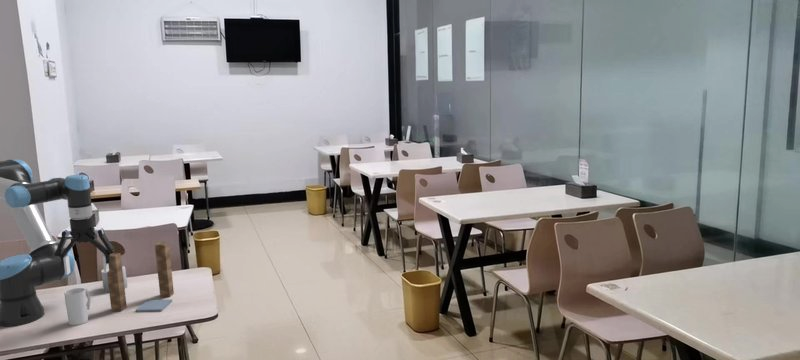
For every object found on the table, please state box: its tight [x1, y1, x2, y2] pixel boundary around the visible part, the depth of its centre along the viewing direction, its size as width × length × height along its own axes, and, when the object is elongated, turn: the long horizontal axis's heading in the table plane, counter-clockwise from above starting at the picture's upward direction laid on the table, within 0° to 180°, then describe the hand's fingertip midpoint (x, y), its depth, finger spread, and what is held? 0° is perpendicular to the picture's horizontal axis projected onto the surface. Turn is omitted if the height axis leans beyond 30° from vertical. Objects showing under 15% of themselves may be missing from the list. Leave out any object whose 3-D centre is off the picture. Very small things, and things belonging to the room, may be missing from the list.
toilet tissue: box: [100, 265, 128, 293], centre depth 251 cm, size 9×13×9 cm
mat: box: [135, 299, 173, 313], centre depth 228 cm, size 10×10×1 cm
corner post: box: [107, 252, 128, 312], centre depth 225 cm, size 4×4×22 cm
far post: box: [154, 241, 175, 298], centre depth 238 cm, size 4×4×22 cm
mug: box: [63, 287, 91, 326], centre depth 216 cm, size 10×7×12 cm, turn 166°
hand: (87, 272), depth 216 cm, fingers open, 13 cm apart
